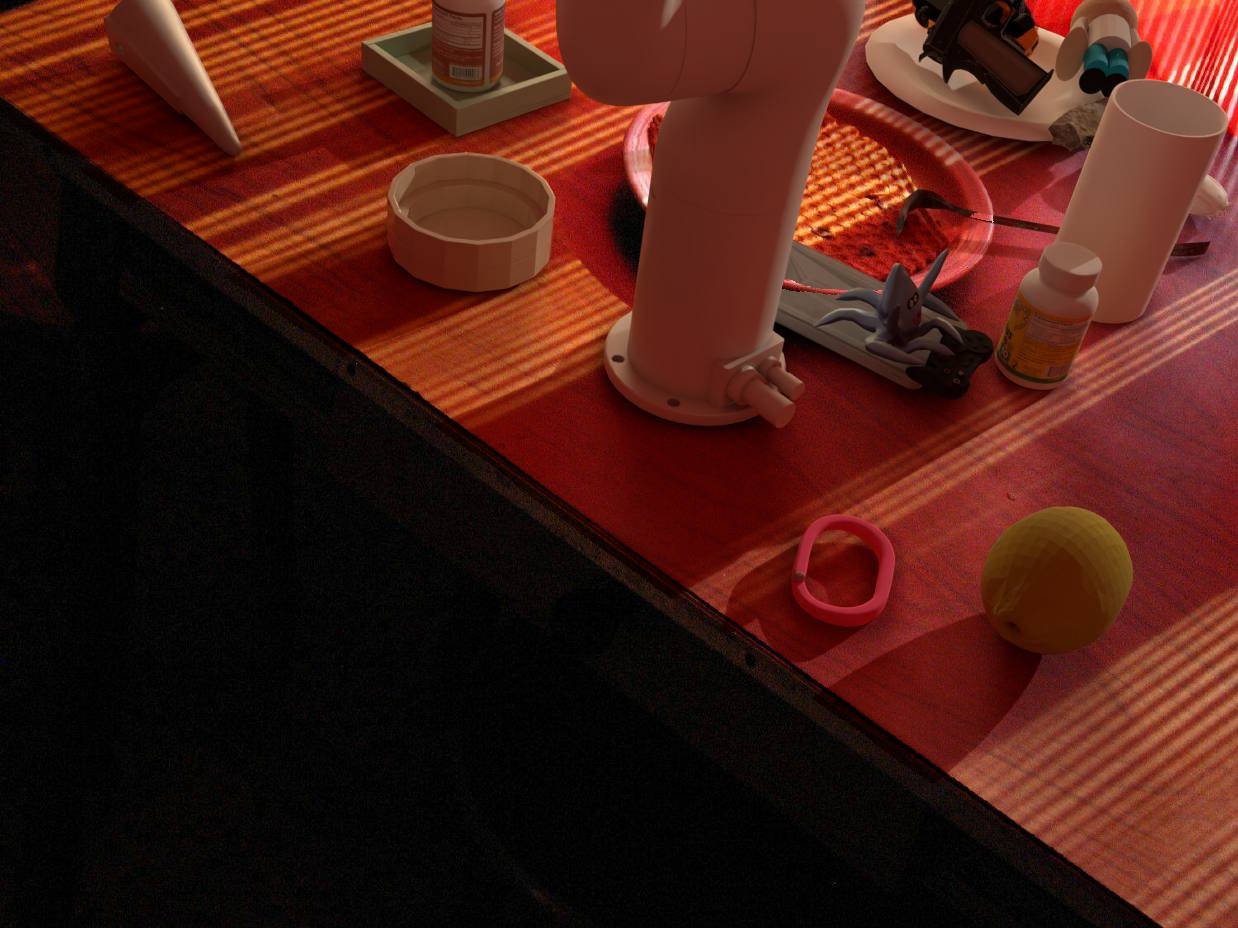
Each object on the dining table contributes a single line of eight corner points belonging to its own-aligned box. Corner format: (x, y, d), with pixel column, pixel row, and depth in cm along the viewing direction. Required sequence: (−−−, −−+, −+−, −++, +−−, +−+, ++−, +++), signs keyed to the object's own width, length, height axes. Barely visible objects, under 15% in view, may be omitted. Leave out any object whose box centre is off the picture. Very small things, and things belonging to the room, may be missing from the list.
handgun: (1118, -51, 127) (995, -95, 130) (1030, 110, 122) (906, 61, 125) (1111, -33, 129) (991, -76, 132) (1026, 126, 125) (904, 78, 128)
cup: (1146, 275, 111) (1226, 94, 100) (1146, 334, 105) (1232, 148, 94) (1043, 251, 112) (1112, 69, 101) (1038, 308, 106) (1110, 121, 95)
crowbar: (902, 213, 109) (899, 180, 113) (894, 237, 111) (892, 204, 115) (1225, 268, 109) (1212, 233, 113) (1212, 291, 111) (1200, 257, 115)
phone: (728, 284, 102) (726, 298, 103) (921, 381, 96) (916, 394, 97) (786, 235, 107) (783, 249, 107) (973, 324, 101) (968, 338, 101)
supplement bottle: (1058, 401, 98) (1105, 291, 91) (985, 376, 99) (1026, 265, 92) (1072, 360, 101) (1118, 251, 95) (1001, 336, 103) (1042, 227, 96)
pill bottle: (475, 54, 125) (480, -67, 117) (516, 84, 121) (523, -39, 114) (417, 70, 121) (417, -54, 114) (457, 101, 118) (460, -24, 111)
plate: (849, 121, 124) (853, 104, 123) (872, 6, 142) (876, -10, 141) (1129, 179, 122) (1136, 162, 121) (1117, 54, 140) (1122, 39, 139)
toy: (1070, 37, 123) (1070, -28, 134) (1048, 98, 127) (1049, 30, 138) (1165, 59, 122) (1157, -8, 133) (1139, 119, 127) (1133, 49, 137)
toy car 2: (903, 66, 129) (906, 90, 132) (1038, 58, 126) (1037, 84, 129) (912, -27, 135) (914, -1, 138) (1041, -36, 131) (1041, -10, 134)
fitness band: (806, 517, 86) (810, 500, 85) (897, 543, 86) (903, 526, 85) (780, 612, 81) (785, 595, 80) (879, 640, 80) (885, 623, 79)
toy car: (1113, 151, 125) (1126, 117, 122) (1234, 211, 119) (1249, 177, 117) (1084, 169, 122) (1097, 135, 120) (1206, 232, 117) (1221, 197, 114)
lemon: (1034, 548, 87) (1077, 455, 81) (1137, 629, 83) (1189, 536, 77) (920, 624, 81) (958, 529, 76) (1025, 713, 77) (1072, 620, 72)
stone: (1107, 106, 128) (1109, 76, 126) (1157, 115, 125) (1160, 85, 123) (1031, 155, 121) (1033, 124, 119) (1082, 166, 118) (1084, 134, 116)
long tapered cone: (295, 97, 109) (168, -20, 117) (224, 128, 106) (98, 5, 114) (302, 154, 114) (180, 37, 122) (234, 185, 111) (113, 63, 119)
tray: (570, 98, 122) (573, 71, 120) (455, 137, 115) (456, 109, 113) (475, 35, 129) (476, 9, 127) (361, 69, 122) (361, 41, 120)
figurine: (832, 301, 102) (871, 208, 98) (983, 371, 100) (1030, 279, 96) (794, 349, 95) (835, 251, 90) (956, 426, 92) (1006, 329, 88)
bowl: (583, 260, 104) (588, 210, 101) (455, 316, 98) (456, 263, 95) (484, 187, 110) (486, 137, 107) (357, 234, 104) (355, 182, 100)
